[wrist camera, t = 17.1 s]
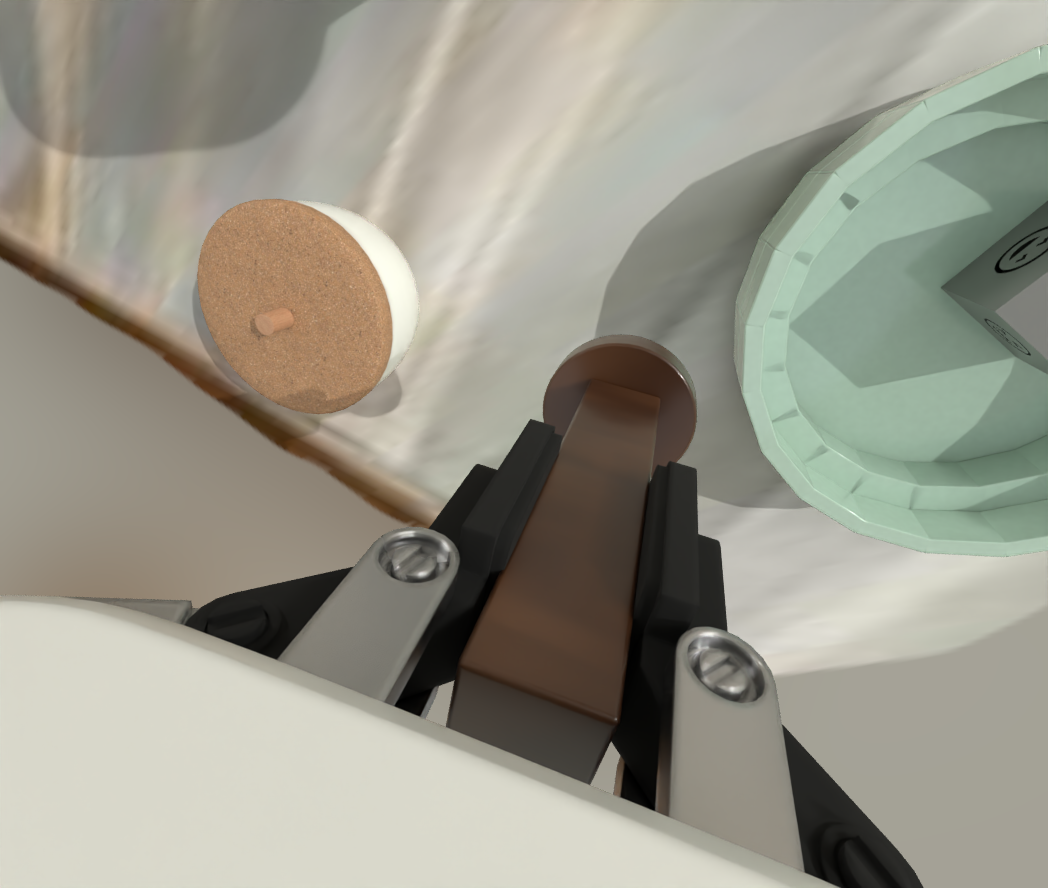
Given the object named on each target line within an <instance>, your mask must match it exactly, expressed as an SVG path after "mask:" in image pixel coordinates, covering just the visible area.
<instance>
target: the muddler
mask: <svg viewBox="0 0 1048 888" xmlns="http://www.w3.org/2000/svg"><path fill="white" fill-rule="evenodd" d="M543 419H544V423H546V424H549V425H552V426H555V433H556V434H559V435H562V436H563V438H562V442H561V446H560V450H559V453H558V455H557V458H556V460H555V462H554V464H553V466H552V468H551V470H550V473H549V475H548V477H547V479H546V481H545V483H544V486H543V488H542V490H541V492H540V494H539V496H538V498H537V501H536V503H535V505H534V507H533V509H532V511H531V514H530V516H529V518H528V520H527V522H526V524H525V526H524V529H523V531H522V533H521V535H520V537H519V539H518V541H517V544H516V546H515V548H514V550H513V552H512V554H511V557H510V559H509V561H508V563H507V565H506V567H505V569H504V570H502V571H501V572H500V573H499V575H498V578H497V580H496V582H495V584H494V586H493V588H492V590H491V592H490V595H489V597H488V599H487V601H486V603H485V605H484V607H483V609H482V611H481V614H480V616H479V618H478V620H477V622H476V624H475V626H474V628H473V631H472V633H471V635H470V637H469V639H468V641H467V643H466V645H465V647H464V650H463V652H462V654H461V656H460V658H459V660H458V665H457V670H456V676H455V681H454V686H453V691H452V697H451V702H450V707H449V712H448V718H447V723H446V727H447V728H449V729H452V730H454V731H457V732H459V733H462V734H464V735H467V736H469V737H472V738H474V739H477V740H479V741H482V742H484V743H487V744H489V745H492V746H494V747H496V748H499V749H501V750H504V751H506V752H509V753H511V754H514V755H516V756H519V757H521V758H524V759H526V760H529V761H531V762H534V763H536V764H539V765H541V766H544V767H546V768H549V769H551V770H554V771H556V772H559V773H561V774H564V775H566V776H568V777H571V778H573V779H576V780H578V781H581V782H583V783H586V784H588V785H590V784H591V782H592V780H593V778H594V776H595V774H596V772H597V769H598V767H599V765H600V763H601V761H602V759H603V757H604V755H605V752H606V751H607V748H608V746H609V744H610V742H611V740H612V738H613V736H614V734H615V732H616V730H617V727H618V725H619V723H620V719H621V711H622V703H623V695H624V687H625V679H626V671H627V663H628V655H629V647H630V639H631V631H632V623H633V611H634V603H635V595H636V587H637V580H638V572H639V564H640V556H641V548H642V541H643V533H644V525H645V517H646V509H647V501H648V494H649V486H650V480H651V478H652V476H653V473H654V471H655V468H656V466H657V465H661V466H665V467H666V466H667V464H668V462H669V461H672V462H675V463H676V462H677V461H678V460H679V459H680V458H681V457H682V456H683V455H684V453H685V452H686V450H687V449H688V447H689V445H690V443H691V441H692V439H693V436H694V432H695V428H696V422H697V403H696V394H695V389H694V385H693V382H692V380H691V378H690V375H689V373H688V372H687V370H686V369H685V367H684V365H683V364H682V363H681V362H680V361H679V360H678V358H677V357H676V356H675V355H673V354H672V353H671V352H670V351H669V350H667V349H666V348H664V347H663V346H661V345H659V344H657V343H655V342H653V341H651V340H648V339H645V338H642V337H638V336H633V335H622V334H620V335H609V336H603V337H599V338H596V339H593V340H591V341H589V342H586V343H584V344H582V345H581V346H579V347H578V348H576V349H575V350H574V351H573V352H571V353H570V354H569V355H568V356H567V357H566V358H565V359H564V361H563V362H562V363H561V365H560V366H559V368H558V369H557V371H556V372H555V374H554V375H553V377H552V378H551V380H550V382H549V384H548V386H547V389H546V392H545V396H544V401H543Z"/></svg>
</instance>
